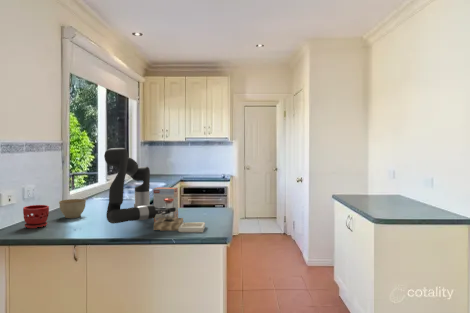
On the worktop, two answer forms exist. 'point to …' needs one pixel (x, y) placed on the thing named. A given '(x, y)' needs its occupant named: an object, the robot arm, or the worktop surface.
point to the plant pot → (36, 215)
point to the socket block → (168, 224)
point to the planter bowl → (72, 207)
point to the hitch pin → (169, 205)
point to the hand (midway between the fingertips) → (172, 208)
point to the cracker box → (161, 195)
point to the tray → (192, 227)
